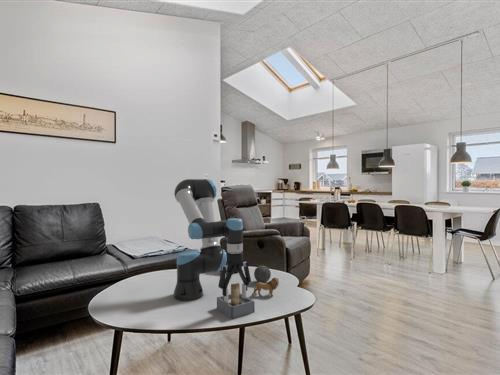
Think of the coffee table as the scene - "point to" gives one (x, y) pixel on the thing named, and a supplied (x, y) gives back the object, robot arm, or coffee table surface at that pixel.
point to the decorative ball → (262, 274)
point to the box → (236, 306)
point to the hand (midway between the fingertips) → (235, 300)
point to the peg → (235, 294)
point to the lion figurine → (267, 286)
